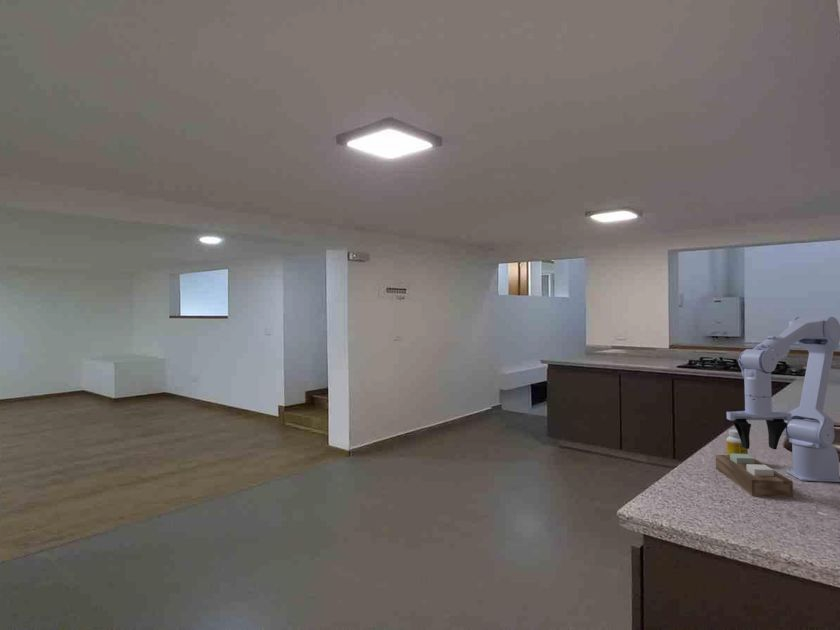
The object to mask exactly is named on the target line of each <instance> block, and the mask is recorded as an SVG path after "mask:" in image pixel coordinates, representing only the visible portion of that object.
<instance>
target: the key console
mask: <svg viewBox="0 0 840 630" xmlns="http://www.w3.org/2000/svg"><path fill="white" fill-rule="evenodd" d="M755 464H757V465H765V464H764V463H763V462H762V461H760V460H758V459H756V458H755ZM715 469H716V470H718V472H720V473H722V475H724V476H725V477H727V478H728V479H730V481H732V482H733V483H735V484H736V485H737V486H738V487H740V488H741V489H742V490H744V491H745V492H746V493H748V494H749V495H750V496H751V497H767V498H768V497H769V498H772V497H773V498H789V499H790V498H791V499H793V498H794V490H793V489H794V486H793V485H794V484H793V482H794V481H793V480H791V479H789V478H788V477H786V476H785V475H783V474H781V473H779V472H778V471H776V470H774V476H754V475H752V474H751V473H749V472H748V471H747V469H746V464H736V463H734V462H733V461H731V460H730V455H727V454H715Z"/></svg>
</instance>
